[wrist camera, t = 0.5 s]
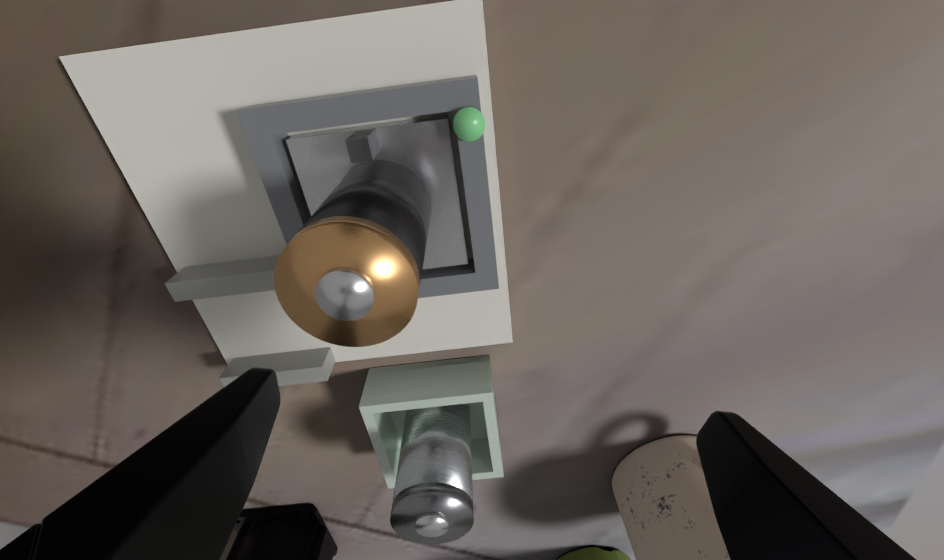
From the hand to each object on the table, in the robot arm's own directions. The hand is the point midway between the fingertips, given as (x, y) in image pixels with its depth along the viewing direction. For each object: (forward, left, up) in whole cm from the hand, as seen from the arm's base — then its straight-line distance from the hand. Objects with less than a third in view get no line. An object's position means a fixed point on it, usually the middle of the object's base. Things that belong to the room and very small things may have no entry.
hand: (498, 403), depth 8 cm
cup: (-4, -13, -13) cm, 19 cm away
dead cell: (-4, -13, -12) cm, 19 cm away
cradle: (-4, +1, -12) cm, 12 cm away
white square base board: (-7, 0, -13) cm, 15 cm away
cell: (-4, +1, -11) cm, 12 cm away
